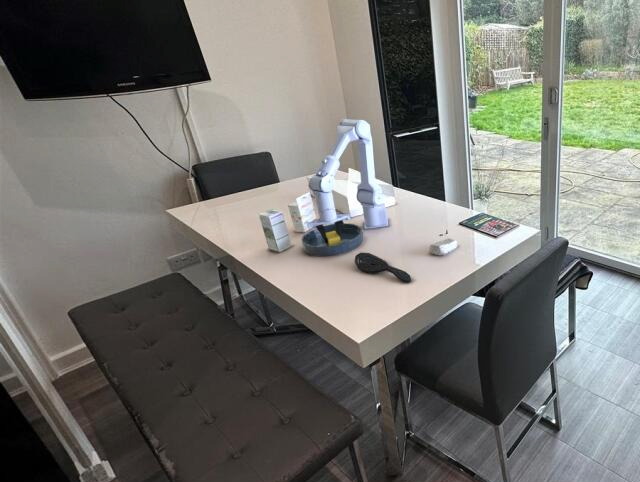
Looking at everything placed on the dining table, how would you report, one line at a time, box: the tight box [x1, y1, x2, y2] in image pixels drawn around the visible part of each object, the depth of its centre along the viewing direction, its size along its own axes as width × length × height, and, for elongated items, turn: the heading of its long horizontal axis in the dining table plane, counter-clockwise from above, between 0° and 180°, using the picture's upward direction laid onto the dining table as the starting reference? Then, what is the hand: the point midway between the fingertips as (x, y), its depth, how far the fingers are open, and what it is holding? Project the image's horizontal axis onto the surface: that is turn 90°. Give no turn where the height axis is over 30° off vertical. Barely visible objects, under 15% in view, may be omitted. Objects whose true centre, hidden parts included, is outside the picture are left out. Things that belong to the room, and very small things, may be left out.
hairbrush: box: [354, 251, 412, 283], centre depth 135 cm, size 8×4×25 cm
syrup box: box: [258, 209, 292, 253], centre depth 149 cm, size 6×6×14 cm
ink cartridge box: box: [287, 191, 318, 233], centre depth 166 cm, size 9×5×15 cm, turn 168°
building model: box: [306, 167, 396, 218], centre depth 199 cm, size 45×22×10 cm, turn 46°
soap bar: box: [429, 237, 458, 256], centre depth 148 cm, size 10×6×6 cm, turn 134°
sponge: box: [326, 231, 341, 246], centre depth 153 cm, size 4×7×4 cm, turn 35°
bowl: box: [301, 222, 364, 257], centre depth 154 cm, size 21×21×4 cm
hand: (333, 241), depth 153 cm, fingers closed on sponge, 4 cm apart
